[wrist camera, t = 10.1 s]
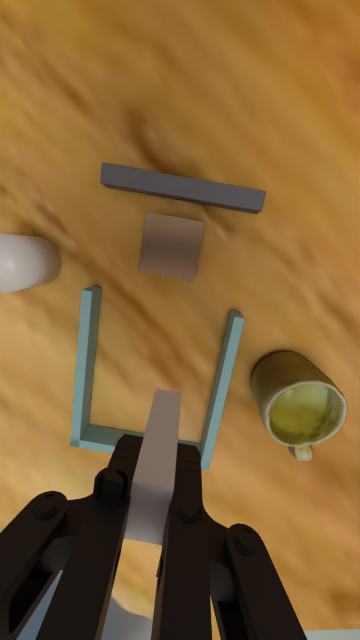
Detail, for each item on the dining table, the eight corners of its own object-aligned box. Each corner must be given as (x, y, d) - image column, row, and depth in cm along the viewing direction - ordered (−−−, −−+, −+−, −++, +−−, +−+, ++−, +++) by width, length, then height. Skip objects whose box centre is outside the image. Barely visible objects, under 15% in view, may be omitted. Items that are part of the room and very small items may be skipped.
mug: (242, 343, 34) (290, 397, 26) (309, 337, 37) (373, 385, 28) (227, 415, 40) (263, 479, 31) (287, 405, 42) (335, 462, 34)
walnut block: (154, 218, 33) (146, 211, 27) (203, 227, 33) (205, 222, 27) (147, 267, 34) (138, 271, 29) (194, 276, 34) (194, 281, 29)
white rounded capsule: (15, 232, 34) (-29, 228, 27) (62, 240, 34) (29, 238, 27) (14, 279, 35) (-28, 287, 29) (59, 287, 35) (28, 296, 29)
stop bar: (108, 168, 32) (102, 162, 29) (260, 195, 32) (266, 191, 29) (106, 187, 32) (100, 182, 30) (256, 213, 32) (261, 210, 30)
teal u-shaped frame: (92, 285, 35) (82, 289, 32) (239, 311, 35) (244, 318, 32) (80, 429, 41) (70, 445, 37) (207, 451, 41) (208, 470, 37)
